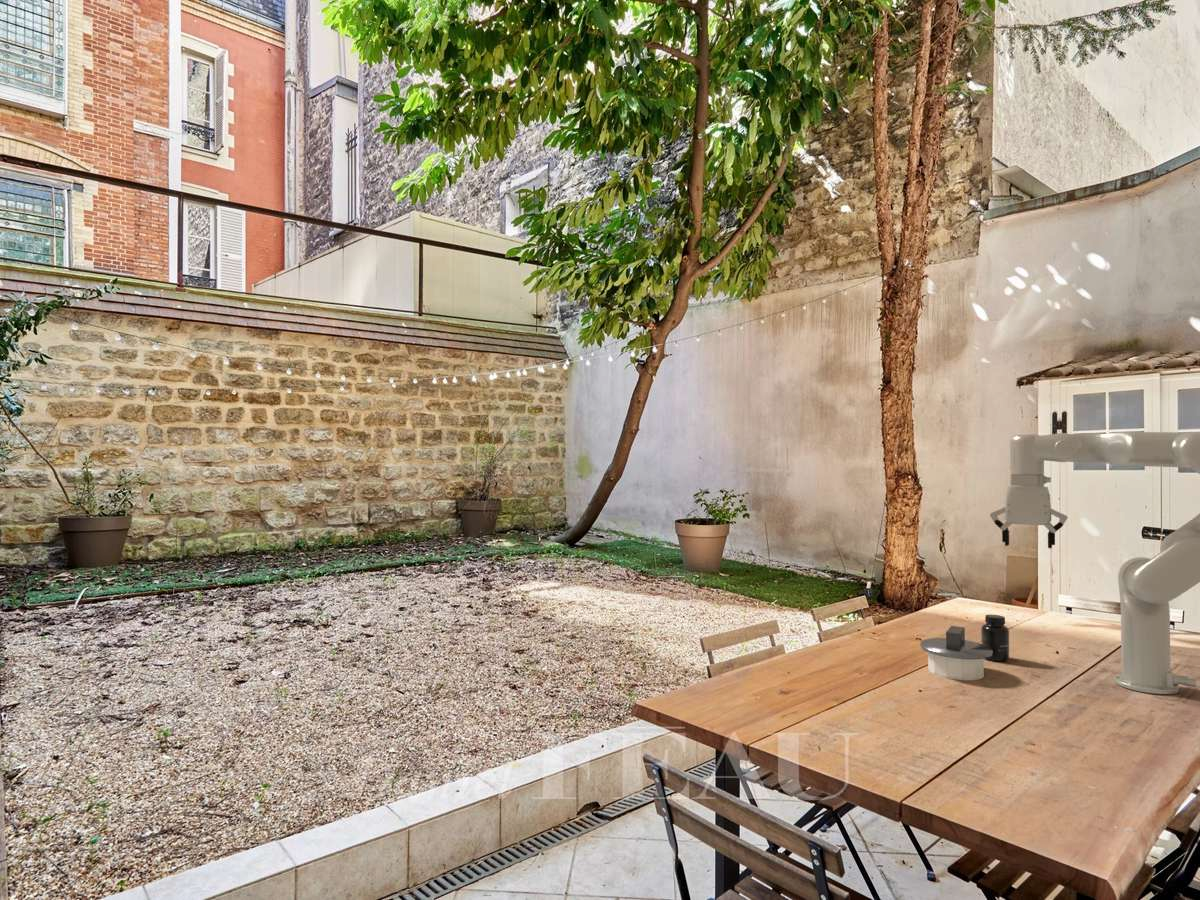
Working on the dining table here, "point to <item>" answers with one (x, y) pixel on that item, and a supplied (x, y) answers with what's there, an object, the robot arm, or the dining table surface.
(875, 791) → the dining table surface
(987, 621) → the supplement bottle
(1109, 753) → the dining table surface
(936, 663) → the bowl
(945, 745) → the dining table surface
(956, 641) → the lid
